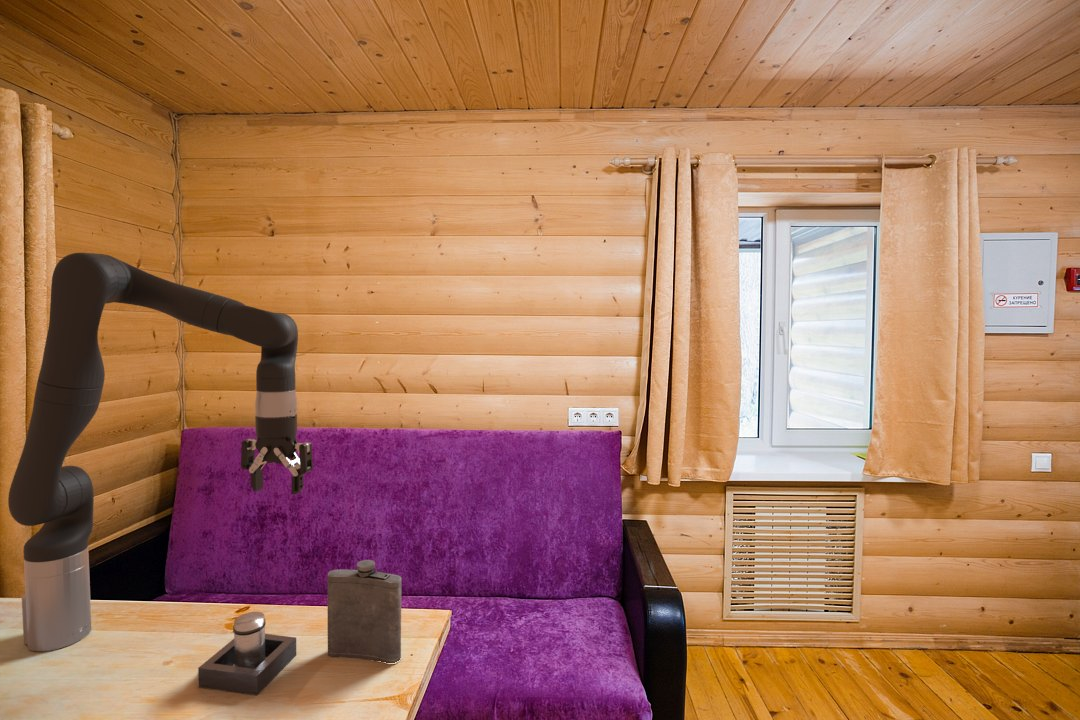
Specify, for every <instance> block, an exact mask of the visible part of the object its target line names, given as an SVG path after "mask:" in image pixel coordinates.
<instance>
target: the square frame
mask: <svg viewBox="0 0 1080 720" xmlns="http://www.w3.org/2000/svg"><path fill="white" fill-rule="evenodd" d="M296 657H297V637H295V636H286V635H278V634H269V633H265V660H264V661H263V662H262V663H261V664H260V665H259V666H258V667H257V668H255V669H251V668H244V667H236V666H235V646H234V638H233V639H232V640H231V641H229V642H228V643H226V644H225V645H224V646H223V647H222V648H221V649H219V650H218V651H217V652H215V654H214V655H212V656H211V657H210V658H208V659H207V660H206V661H205V662H203V663H202V664H201V665H199V666H198V667H197V669H198V670H197V671H198V672H197V673H198V675H197V676H198V677H197V678H198V688H201V689H208V690H215V691H222V692H230V693H236V694H243V695H249V696H258V695H259V694H261V693H262V692H263V690H264V689H265V688H267V686H268V685H269V684H270V683H271V682H272V681H273V680H274V679H275V678H276V677H277V676H278V675H279V674H280V673H281V672H282V671H283V670H284V669H285V668H286V667H287V665H288V664H290V662H292V661H293V660H294V658H296Z"/></svg>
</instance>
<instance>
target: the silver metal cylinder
mask: <svg viewBox="0 0 1080 720" xmlns="http://www.w3.org/2000/svg"><path fill="white" fill-rule="evenodd" d="M265 627H266V618H265V613H264V612H261V611H250V612H249V611H248V612H247V613H243V614H241V615H239V616H237V617H236V618H235V619H234V621H233V626H232V632H233V639H234V646H235V664H234V666H236V667H244V668H251V669H255V668H257V667H258V666H259V665H260V664H261V663H262V662H263V661H264V660H265V659H266V657H265V634H266V631H265V629H266V628H265Z"/></svg>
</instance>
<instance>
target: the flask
mask: <svg viewBox="0 0 1080 720" xmlns="http://www.w3.org/2000/svg"><path fill="white" fill-rule="evenodd" d="M375 567H376V561H374V560H372V559H362V560H361V561H357V563H356V569H333V570H330V571H329V572H327V578H326V579H327V657H329V658H332V659H335V658H337V659H339V658H341V659H343V658H344V659H357V660H364V661H365V660H366V661H371V660H373V661H372V662H377V661H381V662H386V663H395V662H397V661H399V660H400V658H401V659H402V576H400V575H396V574H393V573H387V572H382V571H377V570H375ZM400 661H401V660H400ZM381 662H380V663H381Z"/></svg>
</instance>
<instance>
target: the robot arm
mask: <svg viewBox="0 0 1080 720" xmlns="http://www.w3.org/2000/svg"><path fill="white" fill-rule="evenodd" d="M50 287H51V288H50V306H49V307H50V308H49V320H48V321H49V322H48V327H47V328H48V329H47V334H46V338H45V343H44V350H43V356H42V361H41V366H40V370H39V374H38V377H37V381H36V387H35V392H34V399H33V407H32V411H31V415H30V416H31V417H30V421H29V425H28V429H27V433H26V437H25V441H24V445H23V449H22V452H21V455H20V458H19V461H18V463H17V465H16V469H15V471H14V475H13V478H12V481H11V483H10V488H9V491H8V501H7V504H8V511H9V513H10V516H11V517H12V518H13V520H14V521H16V522H17V523H18V524H19V525H22V526H24V527H25V526H26V527H27V526H28V527H33V526H39V525H42V527H40V528H39V530H38V531H37V532H35V534H34V535H32V536H31V537H30V538H29V539H28V540H27V541H26V542H25V543H24V545H23V570H24V585H25V586H24V589H25V593H24V594H23V595H22V596H21V608H22V609H21V615H22V628H23V629H22V632H23V633H22V634H23V635H22V636H23V644H24V645H27V648H28V649H29V651H32V652H49V651H54V650H58V649H62V648H65V647H68V646H71V645H73V644H75V643H77V642H79V641H81V640H82V639H84V638H85V637H87V636H88V635H89V634H90V633H91V630H92V610H91V609H92V604H91V585H90V584H91V581H90V579H91V578H90V559H89V558H90V556H89V555H90V554H89V538H90V536H91V534H92V532H93V526H94V500H95V499H94V495H95V494H94V487H93V486H94V485H93V482H92V479H91V477H90V476H89V474H88V473H87V472H86V471H85V469H83V468H81V467H80V466H76V465H64V466H63V464H64V461H65V459H66V456H67V454H68V452H69V450H70V449H71V447H72V446H73V445H74V444H75V442H76V440H77V439H78V438H79V437H80V435H81V434H82V433H83V432H84V430H85V429H86V427H87V426H88V425H89V424H90V422H91V421H92V419H93V418H94V416H95V415H96V413H97V412H98V408H99V406H100V403H101V398H102V393H103V389H104V383H105V377H106V376H105V375H106V374H105V372H106V371H105V366H104V365H105V364H104V361H103V356H102V353H101V350H100V346H99V339H98V338H99V337H98V335H99V327H100V322H101V318H102V315H103V311H104V309H105V305H106V304H112V303H115V304H116V303H118V304H126V305H132V306H139V307H143V308H147V309H152V310H155V311H158V312H160V313H163V314H165V315H168V316H170V317H173V318H174V319H176V320H177V321H181V322H183V323H186V324H188V325H191V326H193V327H197V328H199V329H204V330H207V331H210V332H215V333H217V334H222V335H226V336H231V337H234V338H236V339H239V340H241V341H244V342H246V343H248V344H252V345H254V346H257V347H261V350H260V351H261V353H260V361H259V363H258V364H257V367H256V371H255V372H256V375H255V376H256V378H255V379H256V380H255V382H256V383H255V384H256V392H255V400H254V401H255V402H254V411H255V412H254V416H255V417H254V418H255V419H254V420H255V421H254V422H255V423H254V424H255V429H254V430H255V437H257V439H255V437H251V438H248V439H244V440H242V441H241V452H240V453H241V455H240V456H241V457H240V468H241V469H242V470H247V471H249V473H250V487H251V489H252V491H253V492H258V491H260V490H262V489H263V488H264V477H263V475H264V473H263V472H264V470H262V469H263V468H264V466H265V465H266V464H272V463H275V464H279V465H281V464H283V466H284V467H285V468H286V469H288V470H289V472H290V473H291V474H292V476H291V494H292V495H298V494H300V493H301V492H302V491H303V489H304V475H305V474H307V473H309V472H312V471H313V470H314V463H313V461H314V460H313V447H312V442H311V441H306V442H298V440H297V433H298V401H297V400H298V399H297V394H296V360H297V358H296V357H297V350H298V345H299V343H298V342H299V332H298V331H299V330H298V325H297V323H296V321H295V320H294V318H292V317H291V316H290V315H289V314H287V313H283V312H273V311H269V310H265V309H260V308H257V307H253V306H249V305H246V304H244V303H243V302H241V301H239V300H236V299H233V298H230V297H227V296H222V295H219V294H216V293H213V292H209V291H206V290H202V289H199V288H194V287H191V286H187V285H183V284H180V283H176V282H173V281H170V280H168V279H164V278H162V277H159V276H156V275H153V274H151V273H149V272H146V271H144V270H142V269H140V268H138V267H136V266H134V265H131V264H130V263H127V262H125V261H122V260H121V259H118V258H116V257H114V256H113V255H109V254H105V253H104V254H103V253H94V252H73V253H70V254H67V255H65V256H64V257H62V258H61V259H60V260H59V261H58V262H57V263H56V265H55V268H54V270H53V272H52V278H51V286H50ZM256 450H257V451H258V454H257V455H256V453H255V452H256ZM296 451H297V453H296ZM298 455H299V456H298ZM255 456H256V457H255ZM89 632H90V633H89Z"/></svg>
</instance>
